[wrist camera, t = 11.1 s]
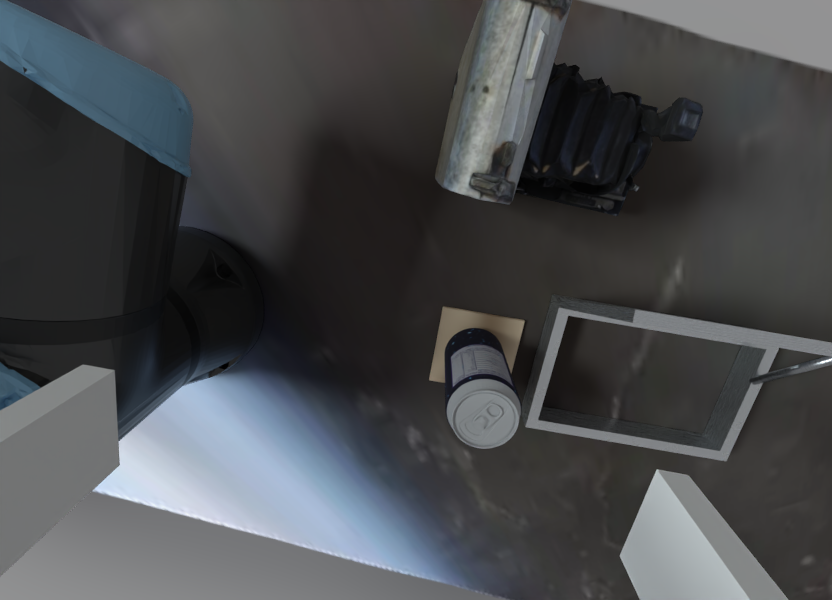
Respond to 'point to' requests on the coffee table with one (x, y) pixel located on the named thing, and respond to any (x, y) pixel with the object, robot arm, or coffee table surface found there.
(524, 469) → the coffee table surface
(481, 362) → the beverage can
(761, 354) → the case
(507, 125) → the vintage camera
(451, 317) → the pad
